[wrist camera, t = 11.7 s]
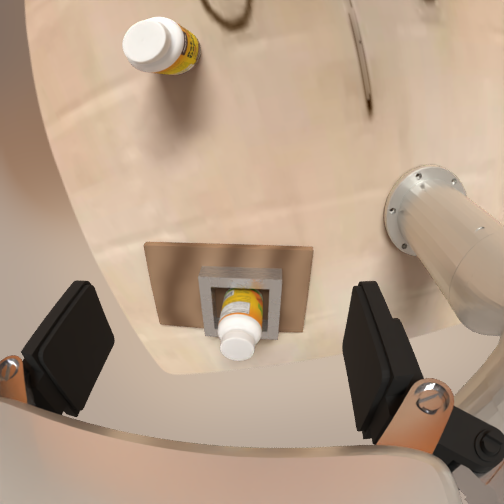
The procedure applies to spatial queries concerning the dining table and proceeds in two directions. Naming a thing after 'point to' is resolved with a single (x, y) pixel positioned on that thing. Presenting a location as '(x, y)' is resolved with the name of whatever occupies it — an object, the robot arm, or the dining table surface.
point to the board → (222, 255)
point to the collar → (240, 279)
